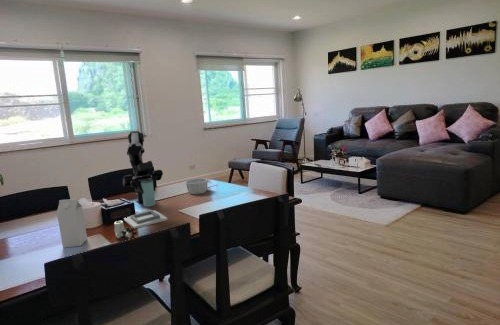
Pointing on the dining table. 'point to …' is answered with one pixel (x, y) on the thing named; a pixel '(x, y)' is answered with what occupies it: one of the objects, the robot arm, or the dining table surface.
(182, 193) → the dining table surface
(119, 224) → the valve
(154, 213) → the dock
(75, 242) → the milk carton
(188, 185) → the ramekin
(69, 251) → the dining table surface
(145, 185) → the cup
